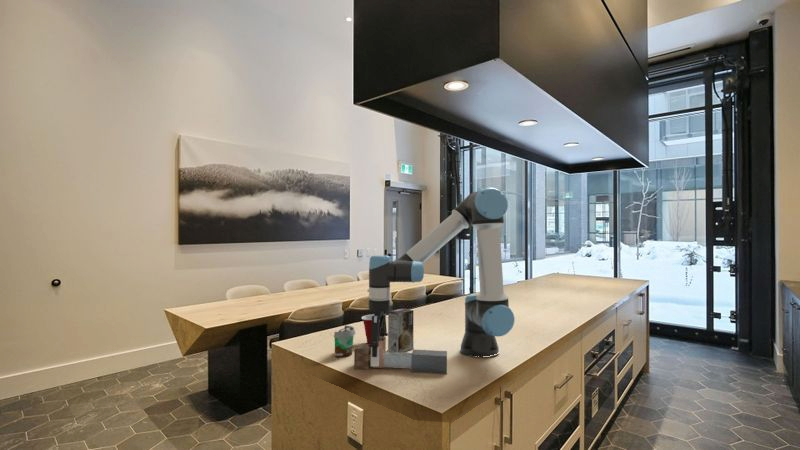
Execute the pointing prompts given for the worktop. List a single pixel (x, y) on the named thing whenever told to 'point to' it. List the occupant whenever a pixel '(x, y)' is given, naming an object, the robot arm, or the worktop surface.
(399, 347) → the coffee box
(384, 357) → the slider
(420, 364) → the block
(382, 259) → the robot arm
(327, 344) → the worktop surface
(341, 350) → the food container
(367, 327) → the plastic cup
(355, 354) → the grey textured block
